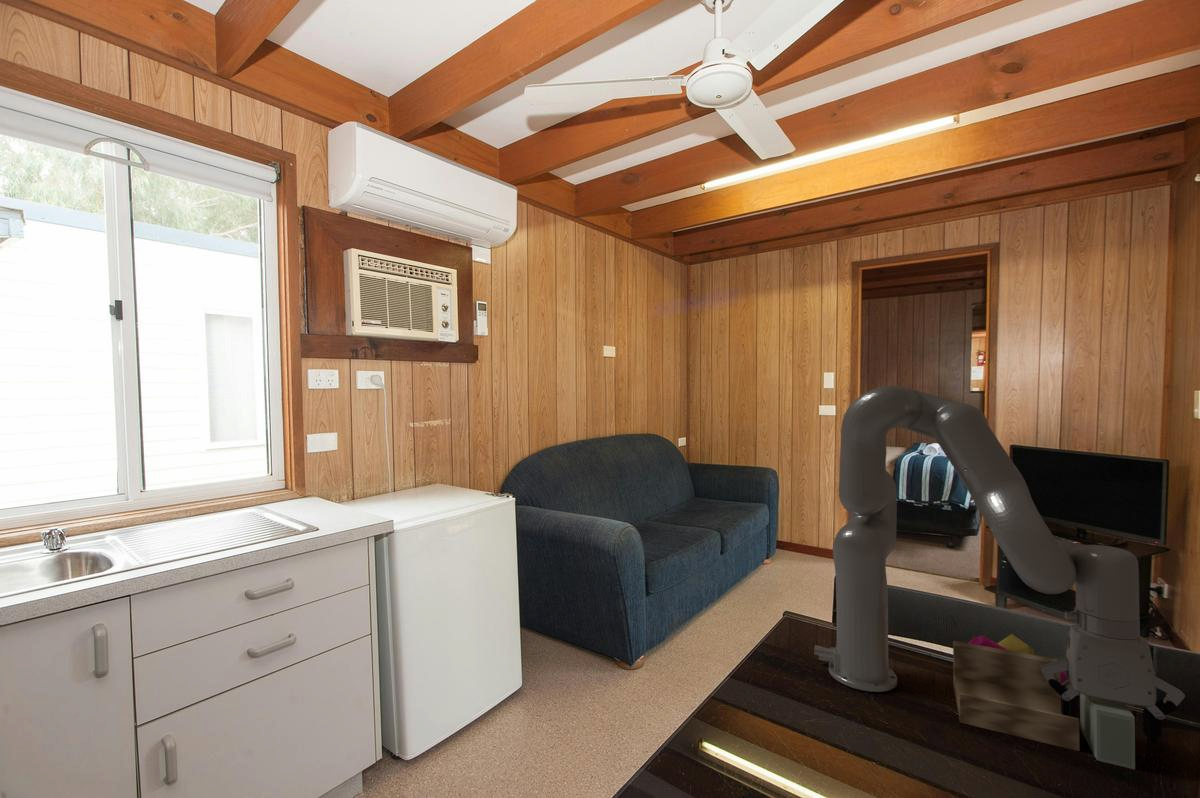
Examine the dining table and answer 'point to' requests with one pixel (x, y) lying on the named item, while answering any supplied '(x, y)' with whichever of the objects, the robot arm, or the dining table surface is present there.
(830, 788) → the dining table surface
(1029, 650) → the toy
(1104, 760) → the cabinet block
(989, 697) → the wall board
